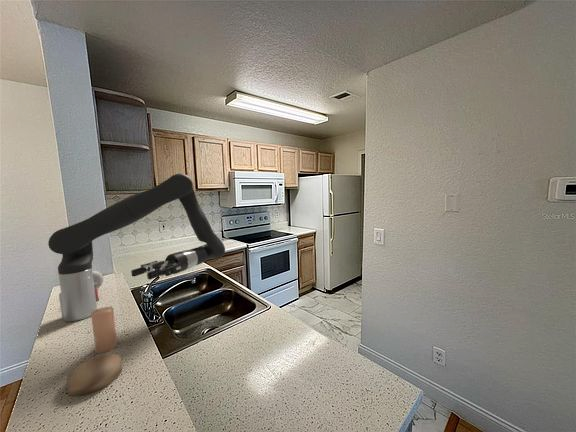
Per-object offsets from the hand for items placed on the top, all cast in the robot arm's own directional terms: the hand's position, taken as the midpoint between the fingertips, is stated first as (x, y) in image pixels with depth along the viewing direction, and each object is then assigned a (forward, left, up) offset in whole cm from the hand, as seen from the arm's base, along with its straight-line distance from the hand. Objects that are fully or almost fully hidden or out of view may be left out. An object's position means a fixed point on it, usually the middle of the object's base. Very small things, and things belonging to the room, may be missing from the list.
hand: (139, 275), depth 76 cm
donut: (-49, +28, -18) cm, 60 cm away
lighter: (-40, +19, -18) cm, 48 cm away
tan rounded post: (-4, -11, -18) cm, 21 cm away
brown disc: (+4, -22, -18) cm, 28 cm away
